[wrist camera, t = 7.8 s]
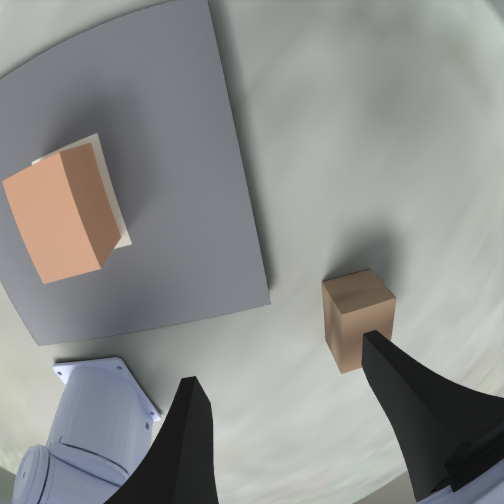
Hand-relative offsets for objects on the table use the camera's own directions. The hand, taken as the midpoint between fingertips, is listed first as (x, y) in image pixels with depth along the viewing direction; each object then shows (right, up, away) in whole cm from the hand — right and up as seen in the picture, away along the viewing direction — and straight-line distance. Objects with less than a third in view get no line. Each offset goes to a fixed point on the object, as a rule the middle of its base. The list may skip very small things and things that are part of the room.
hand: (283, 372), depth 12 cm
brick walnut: (+6, +1, +11) cm, 13 cm away
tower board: (-12, +8, +5) cm, 15 cm away
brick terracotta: (-12, +8, +4) cm, 15 cm away
